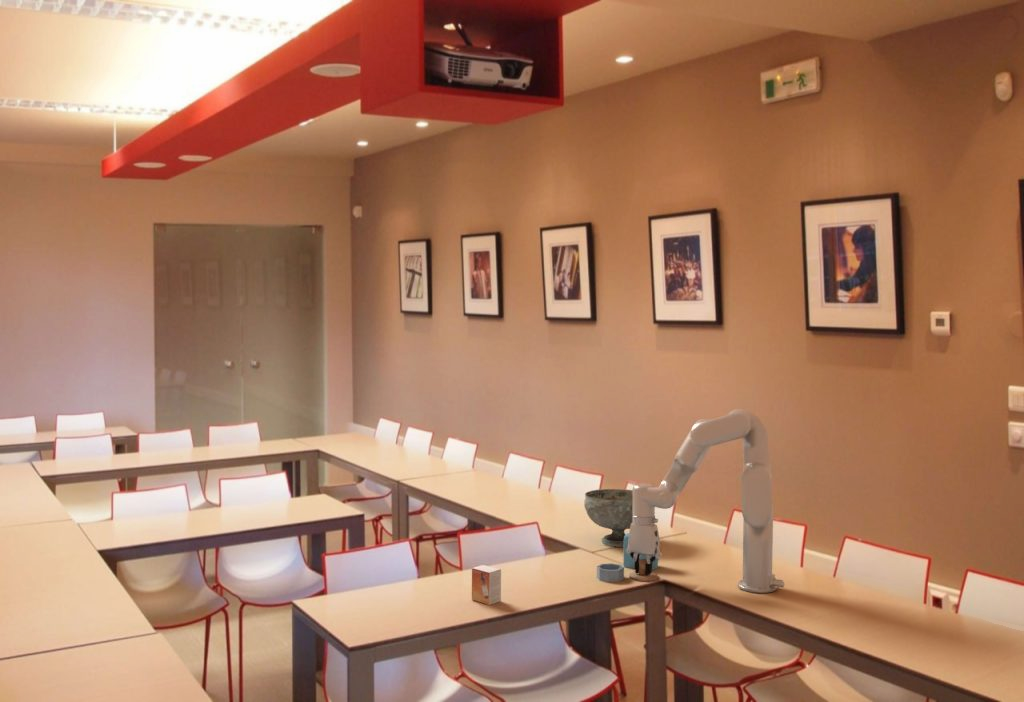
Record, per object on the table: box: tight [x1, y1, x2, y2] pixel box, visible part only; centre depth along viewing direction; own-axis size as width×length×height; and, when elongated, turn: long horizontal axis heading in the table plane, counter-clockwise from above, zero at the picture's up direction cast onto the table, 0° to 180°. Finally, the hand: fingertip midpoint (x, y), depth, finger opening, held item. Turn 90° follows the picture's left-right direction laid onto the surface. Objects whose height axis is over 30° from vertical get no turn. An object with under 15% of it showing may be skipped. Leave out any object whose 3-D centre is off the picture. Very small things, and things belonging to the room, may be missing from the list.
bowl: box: [596, 562, 625, 583], centre depth 335 cm, size 9×9×4 cm
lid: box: [628, 559, 658, 582], centre depth 336 cm, size 10×10×6 cm
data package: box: [622, 532, 659, 570], centre depth 350 cm, size 12×4×12 cm, turn 79°
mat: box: [627, 575, 660, 583], centre depth 336 cm, size 8×8×1 cm
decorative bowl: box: [583, 488, 633, 548], centre depth 386 cm, size 26×26×20 cm
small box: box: [471, 564, 502, 606], centre depth 313 cm, size 8×6×10 cm
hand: (643, 572), depth 336 cm, fingers closed on lid, 3 cm apart
